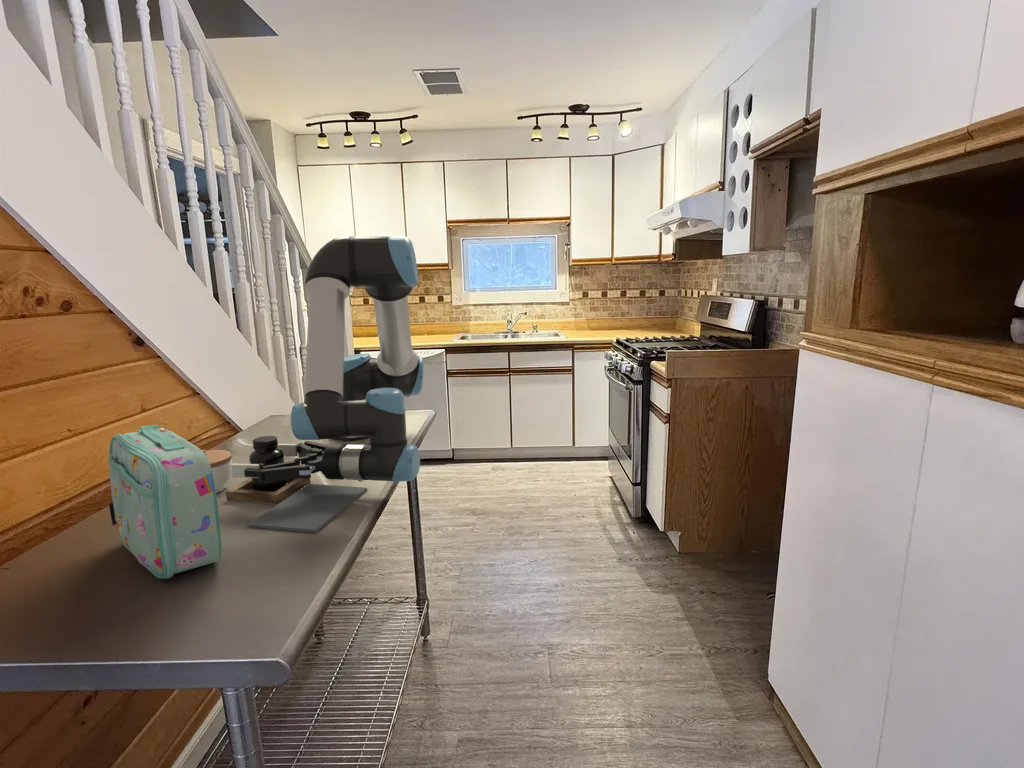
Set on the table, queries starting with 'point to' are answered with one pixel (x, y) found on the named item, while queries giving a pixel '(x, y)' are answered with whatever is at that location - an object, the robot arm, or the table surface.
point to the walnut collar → (265, 492)
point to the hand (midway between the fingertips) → (251, 459)
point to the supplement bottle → (266, 461)
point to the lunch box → (164, 501)
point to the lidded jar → (220, 467)
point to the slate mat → (309, 508)
